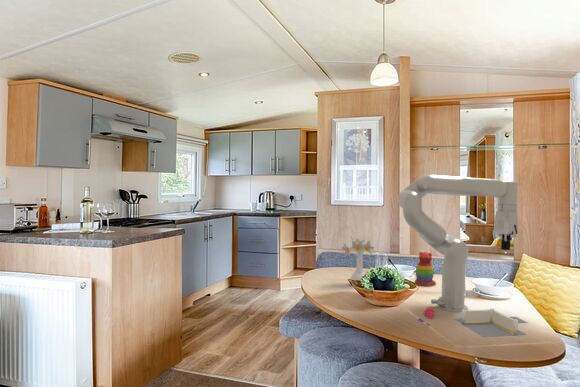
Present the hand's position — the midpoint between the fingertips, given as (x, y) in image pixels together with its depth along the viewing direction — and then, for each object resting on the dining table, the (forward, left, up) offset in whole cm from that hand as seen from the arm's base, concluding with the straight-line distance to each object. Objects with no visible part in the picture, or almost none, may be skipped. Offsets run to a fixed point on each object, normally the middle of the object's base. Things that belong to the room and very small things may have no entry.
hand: (505, 249), depth 169 cm
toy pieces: (-40, -10, -28) cm, 49 cm away
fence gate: (-16, -21, -26) cm, 37 cm away
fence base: (-16, -19, -27) cm, 37 cm away
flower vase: (-52, +44, -27) cm, 73 cm away
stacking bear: (-14, +44, -27) cm, 54 cm away
